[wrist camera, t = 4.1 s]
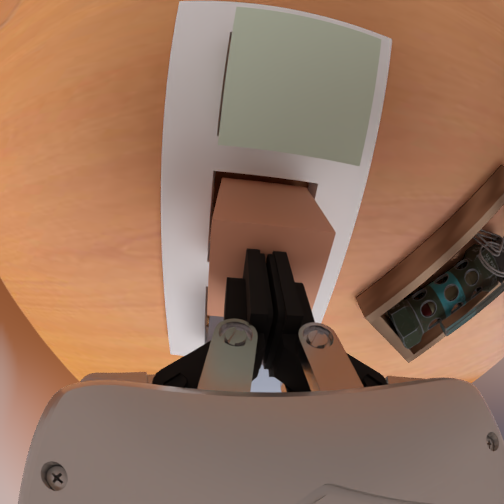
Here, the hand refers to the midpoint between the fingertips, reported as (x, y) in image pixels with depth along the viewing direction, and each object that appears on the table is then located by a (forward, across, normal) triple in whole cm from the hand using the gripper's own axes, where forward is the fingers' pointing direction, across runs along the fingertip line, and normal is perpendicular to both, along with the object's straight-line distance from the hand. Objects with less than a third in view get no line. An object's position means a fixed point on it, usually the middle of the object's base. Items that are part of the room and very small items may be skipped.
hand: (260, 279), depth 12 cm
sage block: (+6, 0, -8) cm, 10 cm away
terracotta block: (+6, 0, 0) cm, 6 cm away
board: (+8, 0, 0) cm, 8 cm away
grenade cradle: (+7, -20, +2) cm, 21 cm away
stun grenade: (+8, -19, +3) cm, 20 cm away
